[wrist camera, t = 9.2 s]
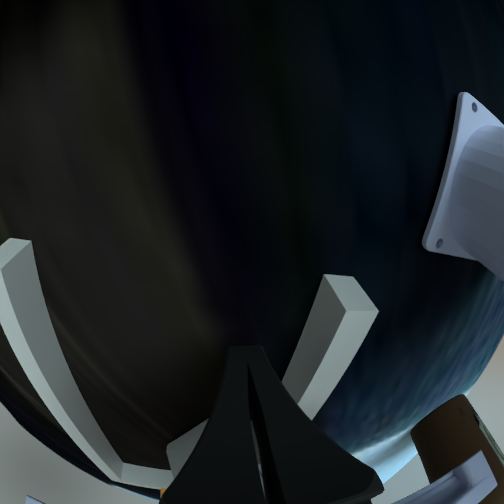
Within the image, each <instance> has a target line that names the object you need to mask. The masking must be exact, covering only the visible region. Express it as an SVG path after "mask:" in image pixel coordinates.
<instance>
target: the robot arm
mask: <svg viewBox="0 0 504 504" xmlns="http://www.w3.org/2000/svg"><path fill="white" fill-rule="evenodd" d="M437 241H438V242H437ZM422 245H423V247H424V248H425V249H426V250H428V251H431V252H436V253H442V254H447V255H452V256H457V257H462V258H467V259H472V260H477V261H479V262H480V263H481V264H483V265H484V266H485V267H486V268H488V269H489V270H490V271H491V272H493V273H494V274H495V275H496V276H497V277H499V278H500V279H501V280H502V281H503V282H504V125H503V124H502V123H501V122H500V121H499V120H498V119H497V118H496V117H495V116H494V115H493V114H492V113H491V112H490V111H489V110H487V109H486V108H485V107H484V106H483V105H482V104H481V103H480V102H479V101H477V100H476V99H475V98H474V97H473V96H472V95H470V94H469V93H467V92H461V93H460V94H459V95H458V100H457V107H456V114H455V121H454V126H453V132H452V137H451V142H450V147H449V152H448V156H447V160H446V164H445V168H444V172H443V176H442V180H441V183H440V187H439V190H438V194H437V197H436V200H435V204H434V207H433V210H432V213H431V216H430V219H429V222H428V225H427V227H426V230H425V233H424V236H423V239H422ZM249 410H250V414H251V419H252V423H253V427H254V432H255V436H256V440H257V445H258V450H259V457H260V464H261V471H262V479H263V486H264V492H263V487H262V483H261V478H260V473H259V468H258V463H257V457H256V452H255V446H254V440H253V435H252V429H251V422H250V416H249ZM496 486H497V482H496V480H495V477H494V475H493V473H492V471H491V469H490V467H489V465H488V463H487V461H486V459H485V457H484V455H483V453H482V451H481V450H480V451H478V452H477V453H476V454H474V455H473V456H472V457H470V458H469V459H468V460H466V461H465V462H463V463H462V464H461V465H459V466H458V467H456V468H455V469H453V470H452V471H450V472H448V473H447V474H445V475H444V476H442V477H441V478H439V479H437V480H436V481H435V482H433V483H431V484H430V485H428V486H426V487H424V488H422V489H421V490H419V491H417V492H415V493H413V494H411V495H409V496H407V497H405V498H403V499H401V500H399V501H397V502H395V503H393V504H478V503H479V502H480V501H481V500H482V499H483V498H484V497H485V496H487V495H488V494H489V493H490V492H491V491H492V490H493V489H494V488H495V487H496ZM383 491H384V487H383V484H382V482H381V480H380V478H379V476H378V475H377V473H376V471H375V470H374V469H372V468H371V467H369V466H367V465H366V464H364V463H362V462H361V461H359V460H358V459H356V458H355V457H353V456H352V455H351V454H349V453H348V452H346V451H345V450H344V449H342V448H341V447H340V446H339V445H338V444H336V443H335V442H334V441H333V440H332V439H330V438H329V437H328V436H327V435H326V434H325V433H324V432H323V431H321V430H320V429H319V428H318V427H317V426H316V425H315V424H314V423H313V422H312V420H311V419H310V418H309V417H308V416H307V415H306V414H305V413H304V412H303V410H302V409H301V408H300V407H299V406H298V404H297V403H296V402H295V400H294V399H293V398H292V397H291V395H290V394H289V392H288V391H287V390H286V388H285V387H284V385H283V384H282V382H281V381H280V379H279V377H278V376H277V374H276V373H275V371H274V369H273V367H272V365H271V364H270V362H269V360H268V358H267V356H266V354H265V351H264V349H263V346H261V345H249V346H231V347H228V348H227V349H226V363H225V368H224V373H223V377H222V381H221V385H220V388H219V392H218V395H217V398H216V400H215V403H214V406H213V409H212V411H211V414H210V416H209V419H208V421H207V423H206V426H205V428H204V430H203V432H202V434H201V436H200V438H199V440H198V442H197V444H196V446H195V447H194V449H193V451H192V453H191V454H190V456H189V458H188V459H187V461H186V462H185V464H184V465H183V467H182V469H181V470H180V472H179V473H178V475H177V476H176V477H175V479H174V480H173V481H172V483H171V484H170V485H169V486H168V488H167V489H166V490H165V492H164V493H163V494H162V497H161V499H160V501H159V504H372V503H371V498H373V497H375V496H377V495H379V494H381V493H383ZM264 494H265V496H264ZM26 504H45V503H43V502H41V501H39V500H37V499H35V498H33V497H31V496H29V495H27V496H26Z"/></svg>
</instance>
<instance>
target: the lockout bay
mask: <svg viewBox="0 0 504 504" xmlns="http://www.w3.org/2000/svg"><path fill="white" fill-rule="evenodd" d="M378 312H379V311H378V309H377V308H376V307H375V305H374V304H373V302H372V301H371V300H370V298H369V297H368V296H367V294H366V293H365V292H364V290H363V289H362V288H361V286H360V285H359V284H358V282H357V281H356V280H355V278H354V277H350V276H339V275H327V274H324V275H323V278H322V281H321V284H320V287H319V290H318V292H317V295H316V298H315V301H314V303H313V306H312V309H311V311H310V314H309V317H308V319H307V322H306V324H305V327H304V329H303V332H302V334H301V337H300V339H299V342H298V344H297V347H296V349H295V352H294V354H293V356H292V359H291V361H290V364H289V366H288V368H287V371H286V373H285V375H284V377H283V380H282V384H283V385H284V387H285V388H286V390H287V391H288V392H289V394H290V395H291V397H292V398H293V399H294V400H295V402H296V403H297V404H298V406H299V407H300V408H301V409H302V410H303V412H304V413H305V414H306V415H307V416H308V417H309V418H310V419H311V420H312V419H313V418H314V416H315V415H316V414H317V412H318V411H319V410H320V408H321V407H322V405H323V404H324V403H325V401H326V400H327V398H328V397H329V395H330V394H331V392H332V391H333V389H334V388H335V386H336V385H337V383H338V382H339V380H340V379H341V377H342V375H343V374H344V372H345V371H346V369H347V367H348V366H349V364H350V363H351V361H352V359H353V358H354V356H355V354H356V352H357V351H358V349H359V347H360V346H361V344H362V342H363V340H364V338H365V337H366V335H367V333H368V331H369V329H370V327H371V325H372V324H373V322H374V320H375V318H376V316H377V314H378ZM0 323H1V325H2V328H3V330H4V332H5V334H6V336H7V339H8V341H9V343H10V345H11V347H12V349H13V351H14V353H15V355H16V357H17V358H18V360H19V362H20V364H21V366H22V368H23V369H24V371H25V373H26V375H27V376H28V378H29V380H30V381H31V383H32V385H33V386H34V388H35V389H36V391H37V392H38V394H39V395H40V397H41V398H42V400H43V401H44V403H45V404H46V406H47V407H48V409H49V410H50V411H51V413H52V414H53V415H54V417H55V418H56V419H57V421H58V422H59V423H60V425H61V426H62V427H63V428H64V430H65V431H66V432H67V433H68V435H69V436H70V437H71V438H72V439H73V441H74V442H75V443H76V444H77V445H78V446H79V447H80V449H81V450H82V451H83V452H84V453H85V454H86V455H87V456H88V457H89V458H90V459H91V460H92V461H93V462H94V463H95V464H96V465H97V466H98V467H99V468H100V469H101V470H102V471H103V472H104V473H105V474H106V475H107V476H108V477H109V478H110V479H111V480H113V481H117V482H121V483H126V484H131V485H136V486H141V487H147V488H154V489H161V497H162V494H163V493H164V492H165V490H166V489H167V488H168V486H169V485H170V484H171V483H172V481H173V480H174V477H173V474H172V471H171V470H163V469H156V468H149V467H143V466H137V465H132V464H127V463H123V462H122V460H121V459H120V458H119V456H118V455H117V453H116V452H115V450H114V449H113V448H112V446H111V445H110V443H109V441H108V440H107V438H106V437H105V435H104V434H103V432H102V430H101V429H100V427H99V425H98V424H97V422H96V420H95V419H94V417H93V415H92V413H91V412H90V410H89V408H88V406H87V404H86V402H85V401H84V399H83V397H82V395H81V393H80V391H79V389H78V387H77V385H76V383H75V380H74V378H73V376H72V374H71V372H70V369H69V367H68V365H67V363H66V360H65V358H64V355H63V353H62V350H61V348H60V345H59V343H58V340H57V337H56V334H55V332H54V329H53V326H52V323H51V320H50V317H49V314H48V310H47V307H46V304H45V300H44V297H43V293H42V289H41V285H40V281H39V277H38V272H37V268H36V263H35V258H34V253H33V247H32V241H28V240H21V239H14V238H10V239H8V240H7V241H6V242H5V243H4V244H2V245H1V246H0Z"/></svg>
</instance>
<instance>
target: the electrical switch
mask: <svg viewBox="0 0 504 504" xmlns="http://www.w3.org/2000/svg"><path fill="white" fill-rule="evenodd" d="M208 419H209V418H208ZM208 419H207V420H205V421H204V422H202V423H201V424H199V425H198V426H196V427H194V428H193V429H191V430H190V431H188V432H187V433H185V434H184V435H182V436H180V437H179V438H177V439H176V440H174V441H172V442H171V443H169V444H168V445H167V451H166V452H167V456H168V460H169V463H170V467H171V471H172V474H173V477H174V479H175V477H176V476H177V475H178V473H179V472H180V470H181V469H182V467H183V465H184V464H185V462H186V461H187V459H188V458H189V456H190V454H191V453H192V451H193V449H194V447H195V446H196V444H197V442H198V440H199V438H200V436H201V434H202V432H203V430H204V428H205V426H206V423H207V421H208ZM250 422H251V429H252V435H253V440H254V446H255V452H256V457H257V463H258V468H259V473H260V478H261V483H262V487H263V492H264V486H263V479H262V471H261V464H260V457H259V450H258V445H257V440H256V436H255V432H254V427H253V423H252V421H250ZM264 496H265V494H264Z"/></svg>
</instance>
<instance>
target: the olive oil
mask: <svg viewBox="0 0 504 504" xmlns="http://www.w3.org/2000/svg"><path fill="white" fill-rule="evenodd" d="M410 434H411V437H412V440H413V442H414V444H415V447H416V449H417V451H418V454H419V456H420V458H421V461H422V463H423V466H424V469H425V471H426V474H427V477H428V480H429V483H430V484H431V483H433V482H435V481H436V480H437V479H439V478H441V477H442V476H444V475H445V474H447V473H448V472H450V471H452V470H453V469H455V468H456V467H458V466H459V465H461V464H462V463H463V462H465V461H466V460H468V459H469V458H470V457H472V456H473V455H474V454H476V453H477V452H478V451H480V450H481V451H482V453H483V455H484V457H485V459H486V461H487V463H488V465H489V467H490V469H491V471H492V473H493V475H494V477H495V480H496V482H497V486H496V487H495V488H494V489H493V490H492V491H491V492H490V493H489V494H488V495H487V496H485V497H484V498H483V499H482V500H481V501H480V502H479V503H478V504H504V455H503V453H502V451H501V450H500V448H499V447H498V445H497V444H496V442H495V440H494V439H493V437H492V435H491V434H490V432H489V431H488V429H487V428H486V426H485V425H484V423H483V422H482V420H481V419H480V417H479V416H478V414H477V413H476V411H475V410H474V408H473V407H472V405H471V404H470V402H469V401H468V399H467V398H466V397H465V395H459V396H456V397H454V398H453V399H451V400H449V401H448V402H446V403H445V404H443V405H442V406H440V407H439V408H437V409H436V410H434V411H433V412H432V413H430V414H429V415H428V416H427V417H425V418H424V419H423V420H422V421H421V422H419V423H418V424H417V425H416V426H415V427H414V428H413V429H412V431H411V433H410Z"/></svg>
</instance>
